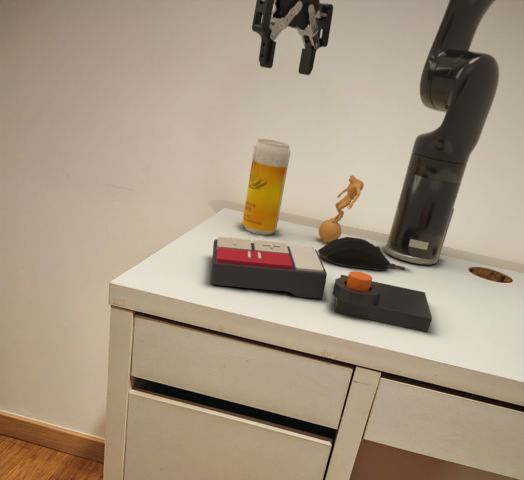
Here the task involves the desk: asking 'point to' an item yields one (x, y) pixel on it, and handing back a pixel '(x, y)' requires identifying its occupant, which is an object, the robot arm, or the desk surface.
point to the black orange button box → (384, 304)
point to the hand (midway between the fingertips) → (285, 71)
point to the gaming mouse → (355, 254)
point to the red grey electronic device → (268, 267)
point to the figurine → (340, 211)
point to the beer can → (266, 186)
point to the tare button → (359, 281)
